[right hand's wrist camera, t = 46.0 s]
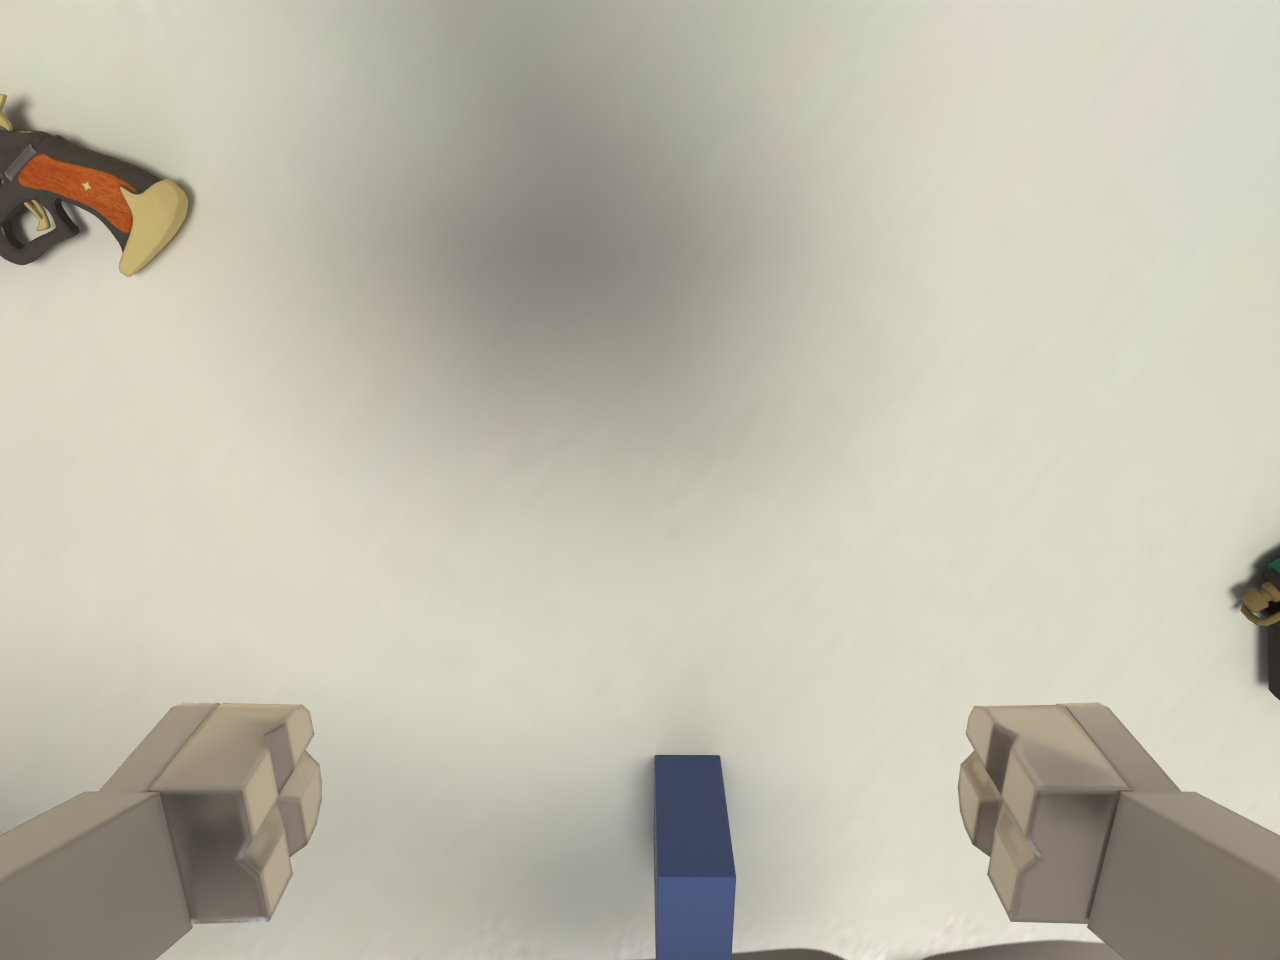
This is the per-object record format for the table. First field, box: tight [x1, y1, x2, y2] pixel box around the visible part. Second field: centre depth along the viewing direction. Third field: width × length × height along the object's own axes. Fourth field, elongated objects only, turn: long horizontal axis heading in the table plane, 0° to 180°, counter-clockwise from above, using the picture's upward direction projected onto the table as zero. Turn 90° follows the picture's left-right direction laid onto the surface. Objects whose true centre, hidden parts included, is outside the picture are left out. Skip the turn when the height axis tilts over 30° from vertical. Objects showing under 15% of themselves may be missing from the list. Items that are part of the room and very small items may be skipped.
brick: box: [654, 756, 736, 960], centre depth 49 cm, size 4×7×10 cm, turn 0°
